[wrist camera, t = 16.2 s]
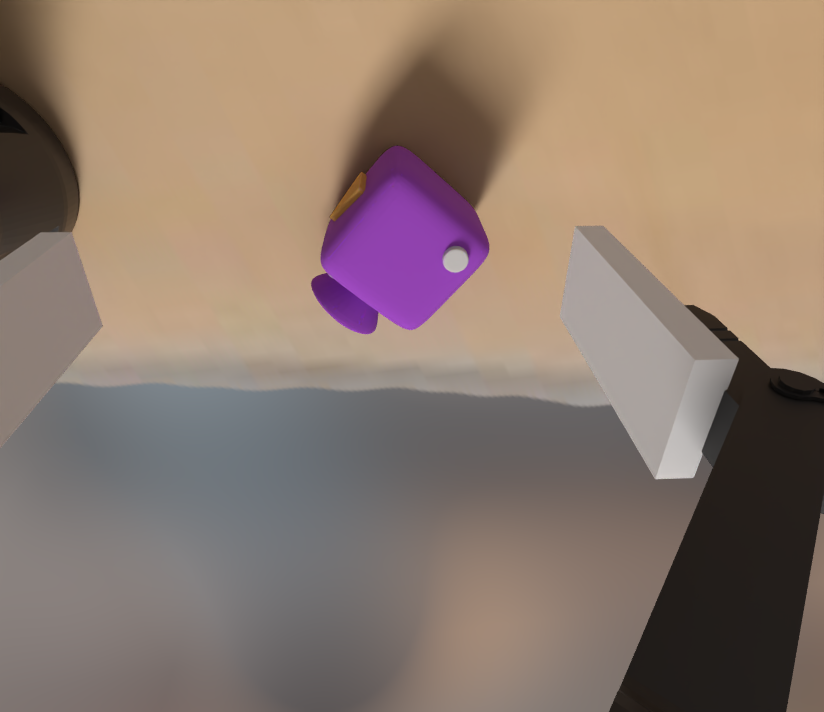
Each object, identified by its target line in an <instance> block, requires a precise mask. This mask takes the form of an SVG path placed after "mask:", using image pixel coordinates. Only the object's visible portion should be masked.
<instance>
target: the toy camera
mask: <svg viewBox="0 0 824 712" xmlns="http://www.w3.org/2000/svg"><path fill="white" fill-rule="evenodd" d="M330 218H331V220H330V222H329V225H328V227H327V231H326V234H325V238H324V242H323V246H322V250H321V264H322V266H323V268H324V270H325V271H326V272H327V273H325V274H321V275H318V276H316V277H315V278H313V280H312V283H311V286H312V290H313V292H314V294H315V296H316V298H317V300H318V301H319V303H320V304H321V305H322V307H323V308H324V309H325V310H326V311H327V312H328V313H329V314H330V315H331V316H332V317H333V318H334V319H335V320H336V321H338V322H339V323H340V324H342V325H343V326H345V327H346V328H348V329H350V330H352V331H355V332H358V333H362V334H370V333H372V332H373V331H375V329H376V326H377V320H378V312H379V313H380V314H382V315H383V316H385V317H386V318H388V319H389V320H391V321H392V322H394V323H395V324H397V325H399V326H400V327H402V328H404V329H408V330H413V329H416V328H418V327H419V326H421V325H422V324H423V323H424V322H426V321H427V320H428V319H429V318H430V317H431V316H432V315H433V314H434V313H435V312H436V311H437V310H438V309H439V308H440V307H441V306H442V305H443V304H444V303H445V302H446V301H447V300H448V298H449V297H450V296H451V295H452V294H453V293H454V292H455V291H456V290H457V289H458V288H459V287H460V286H461V285H462V284H463V283H464V282H465V281H466V280H467V279H468V278H469V277H470V276H471V275H472V274H473V273H474V272H475V271H476V270H477V269H478V268H479V266H480V265H481V264H482V263H483V262H484V260H485V259H486V257H487V255H488V253H489V242H488V238H487V236H486V233H485V231H484V229H483V227H482V224H481V222H480V220H479V217H478V215H477V213H476V212H475V210H474V209H473V207H472V206H471V205H470V204H469V203H468V202H467V201H466V200H465V199H464V198H463V197H462V196H461V195H460V194H459V193H458V192H456V191H455V190H454V189H453V188H452V187H451V186H450V185H449V184H447V183H446V182H445V181H444V180H443V179H442V178H441V177H440V176H438V175H437V174H436V173H435V172H434V171H433V170H432V169H431V168H430V167H428V166H427V165H426V164H425V163H424V162H423V161H422V160H420V159H419V158H418V157H417V156H416V155H415V154H413V153H412V152H411V151H409V150H408V149H406V148H404V147H402V146H393V147H391V148H389V149H388V150H386V151H385V152H384V153H383V154H382V155H381V156H380V157H379V159H378V160H377V161H376V162H375V163H374V165H373V166H372V167H371V168H370V169H369V171H368V172H367V173H366V174H364V173H363V172H361V173H360V174H359V175H358V177H357V178H356V179H355V181H354V182H353V184H352V185H351V187H350V188H349V189H348V191H347V192H346V194H345V195H344V197H343V198H342V200H341V201H340V202H339V204H338V205H337V207H336V208H335V210H334V211H333V212H332V214H331V215H330Z"/></svg>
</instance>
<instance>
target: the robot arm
mask: <svg viewBox="0 0 824 712" xmlns="http://www.w3.org/2000/svg"><path fill="white" fill-rule="evenodd" d="M78 205H79V197H78V187H77V182H76V178H75V174H74V171H73V168H72V165H71V163H70V160H69V158H68V156H67V154H66V152H65V150H64V148H63V147H62V145H61V143H60V141H59V140H58V138H57V137H56V135H55V134H54V133H53V131H52V130H51V129H50V127H49V126H48V125H47V124H46V122H45V121H44V120H43V119H42V118H41V117H40V116H39V115H38V114H37V113H36V112H35V111H34V110H33V109H32V108H31V107H30V106H29V105H28V104H27V103H26V102H25V101H23V100H22V99H21V98H20V97H18V96H17V95H16V94H14V93H13V92H12V91H10V90H9V89H7V88H6V87H4V86H2V85H1V84H0V448H1V447H2V446H3V444H4V443H5V442H6V441H7V439H9V437H10V436H11V435H12V434H13V433H14V431H15V430H16V429H17V428H18V427H19V425H20V424H21V423H22V422H23V421H24V419H25V418H26V417H27V416H28V415H29V413H30V412H31V411H32V410H33V409H34V408H35V406H36V405H37V404H38V403H39V402H40V400H41V399H42V398H43V397H44V396H45V394H46V393H47V392H48V391H49V390H50V388H51V387H52V386H53V385H54V384H55V382H56V381H57V380H58V379H59V378H60V376H61V375H62V374H63V373H64V372H65V371H66V369H67V368H68V367H69V366H70V365H71V363H72V362H73V361H74V360H75V359H76V357H77V356H78V355H79V354H80V353H81V351H82V350H83V349H84V348H85V347H86V345H87V344H88V343H89V342H90V341H91V339H92V338H93V337H94V336H95V335H96V334H97V332H98V331H99V330H100V329H101V328H102V326H103V325H102V322H101V319H100V316H99V313H98V310H97V307H96V304H95V301H94V298H93V295H92V292H91V289H90V286H89V283H88V280H87V277H86V274H85V271H84V268H83V265H82V262H81V259H80V256H79V253H78V250H77V247H76V244H75V241H74V238H73V235H72V230H73V228H74V225H75V222H76V219H77V214H78ZM560 318H561V320H562V321H563V323H564V325H565V326H566V328H567V330H568V331H569V333H570V335H571V337H572V338H573V340H574V342H575V343H576V345H577V347H578V349H579V350H580V352H581V354H582V355H583V357H584V359H585V360H586V362H587V364H588V366H589V367H590V369H591V371H592V372H593V374H594V376H595V377H596V379H597V381H598V383H599V384H600V386H601V388H602V389H603V391H604V393H605V394H606V396H607V398H608V400H609V401H610V403H611V405H612V406H613V408H614V410H615V411H616V413H617V415H618V417H619V418H620V420H621V422H622V423H623V425H624V427H625V428H626V430H627V432H628V433H629V435H630V437H631V439H632V440H633V442H634V443H635V445H636V447H637V449H638V451H639V452H640V454H641V456H642V457H643V459H644V460H645V462H646V464H647V466H648V467H649V469H650V471H651V473H652V474H653V476H654V478H655V479H669V478H694V475H695V473H696V470H697V467H698V465H699V462H700V460H701V457H702V454H704V456H705V457H706V458H707V460H708V461H709V463H710V464H711V465H712V467H713V469H712V471H711V474H710V476H709V478H708V481H707V483H706V486H705V488H704V490H703V493H702V495H701V497H700V500H699V502H698V505H697V507H696V509H695V512H694V514H693V516H692V519H691V521H690V524H689V526H688V528H687V531H686V533H685V535H684V538H683V540H682V542H681V545H680V547H679V550H678V552H677V554H676V556H675V559H674V561H673V564H672V566H671V568H670V571H669V573H668V575H667V578H666V580H665V583H664V585H663V587H662V590H661V592H660V594H659V597H658V599H657V601H656V604H655V606H654V609H653V611H652V613H651V616H650V618H649V620H648V623H647V625H646V628H645V630H644V632H643V635H642V637H641V640H640V642H639V644H638V646H637V649H636V651H635V653H634V656H633V658H632V661H631V663H630V665H629V668H628V670H627V672H626V675H625V677H624V679H623V682H622V684H621V686H620V689H619V691H618V692H617V695H616V697H615V699H614V701H613V704H612V706H611V708H610V711H609V712H786V709H787V704H788V698H789V692H790V686H791V680H792V675H793V669H794V663H795V657H796V652H797V646H798V640H799V634H800V628H801V622H802V617H803V611H804V605H805V599H806V594H807V588H808V582H809V576H810V570H811V565H812V559H813V553H814V547H815V542H816V535H817V530H818V524H819V518H820V513H822V514H824V383H822V382H820V381H819V380H817V379H815V378H813V377H810V376H808V375H805V374H803V373H800V372H796V371H791V370H787V369H779V368H770V367H769V366H768V365H767V364H766V363H765V362H763V361H762V360H761V359H760V358H759V357H758V356H757V355H756V354H755V353H754V352H753V351H752V350H750V349H749V348H748V347H747V346H746V345H745V344H744V343H743V342H742V341H738V338H737V337H736V336H735V335H734V334H733V333H732V332H731V331H727V327H726V326H725V325H723V324H722V323H721V322H720V321H719V320H718V319H717V318H716V317H715V316H713V315H712V314H710V313H708V312H706V311H704V310H702V309H700V308H698V307H696V306H694V305H683V304H682V303H681V302H680V301H679V300H678V299H677V298H676V297H675V296H674V295H673V294H672V293H671V292H670V291H669V290H668V289H667V288H666V287H665V286H664V285H663V284H662V283H661V282H660V281H659V280H658V279H657V278H656V277H655V276H654V275H653V274H652V273H651V272H650V271H649V270H648V269H647V268H646V267H645V266H644V265H643V264H642V263H641V262H640V261H639V260H638V259H637V258H636V257H634V256H633V255H632V254H631V253H630V252H629V251H628V250H627V249H626V248H625V247H624V246H623V245H622V244H621V243H620V242H619V241H618V240H617V239H616V238H615V237H614V236H613V235H612V234H611V233H610V232H609V231H608V230H607V229H606V228H605V227H604V226H575V230H574V236H573V242H572V248H571V254H570V260H569V265H568V271H567V277H566V283H565V289H564V295H563V301H562V307H561V312H560Z"/></svg>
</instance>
